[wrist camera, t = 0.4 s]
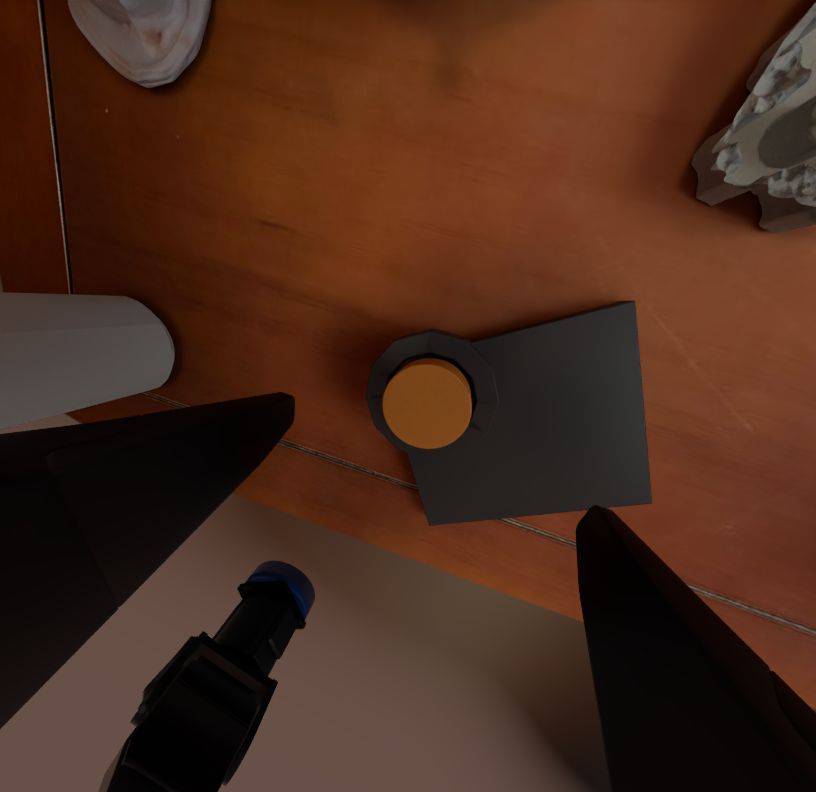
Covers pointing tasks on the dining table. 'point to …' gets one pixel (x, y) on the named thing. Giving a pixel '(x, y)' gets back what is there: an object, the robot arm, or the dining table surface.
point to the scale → (533, 418)
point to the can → (76, 353)
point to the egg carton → (770, 136)
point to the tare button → (428, 403)
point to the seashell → (144, 35)
